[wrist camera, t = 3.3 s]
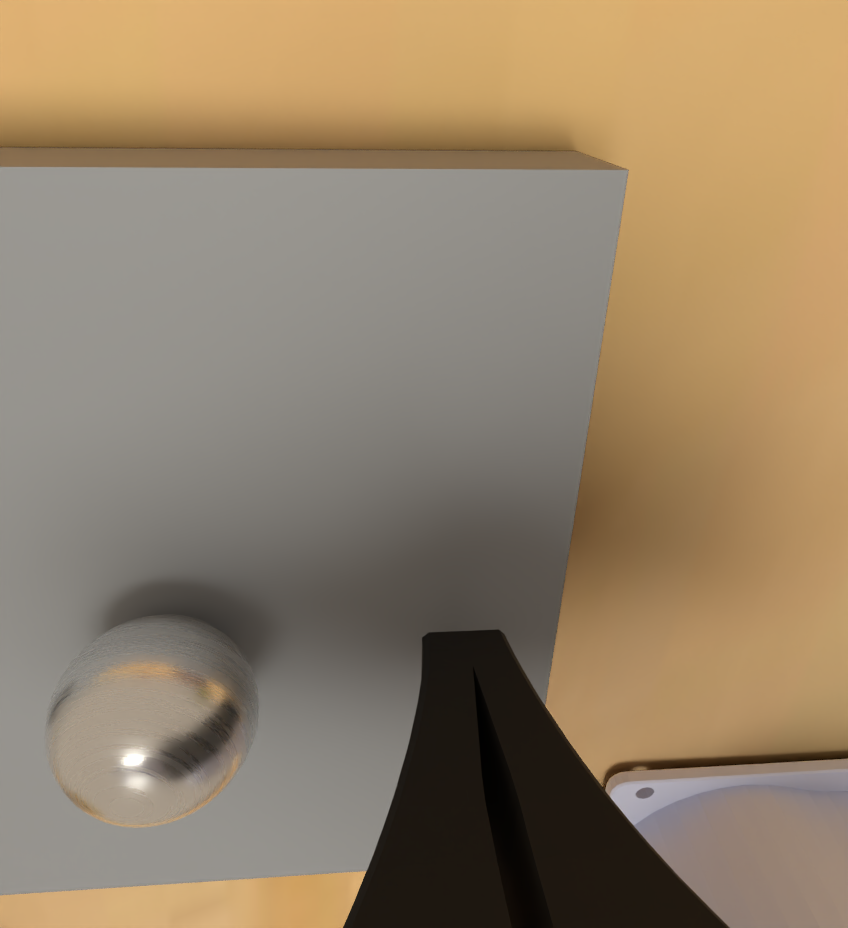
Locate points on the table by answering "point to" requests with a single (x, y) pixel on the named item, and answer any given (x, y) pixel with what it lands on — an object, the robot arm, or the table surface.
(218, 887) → the table surface
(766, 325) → the table surface
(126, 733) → the steel ball
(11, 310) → the hole deck
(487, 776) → the robot arm
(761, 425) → the table surface
